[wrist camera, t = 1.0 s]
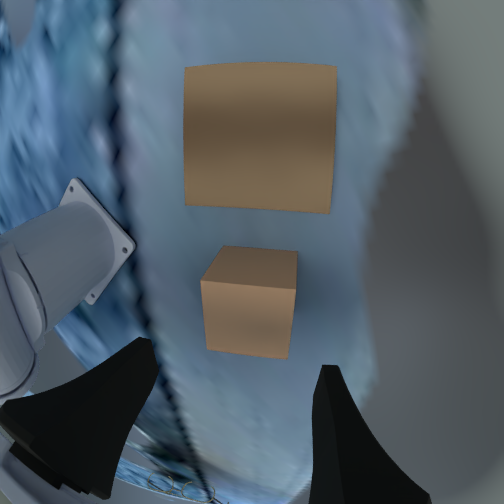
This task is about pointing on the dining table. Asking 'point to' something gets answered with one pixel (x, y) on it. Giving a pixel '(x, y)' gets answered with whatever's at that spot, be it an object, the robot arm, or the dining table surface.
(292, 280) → the terracotta cube
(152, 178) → the dining table surface
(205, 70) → the walnut base
